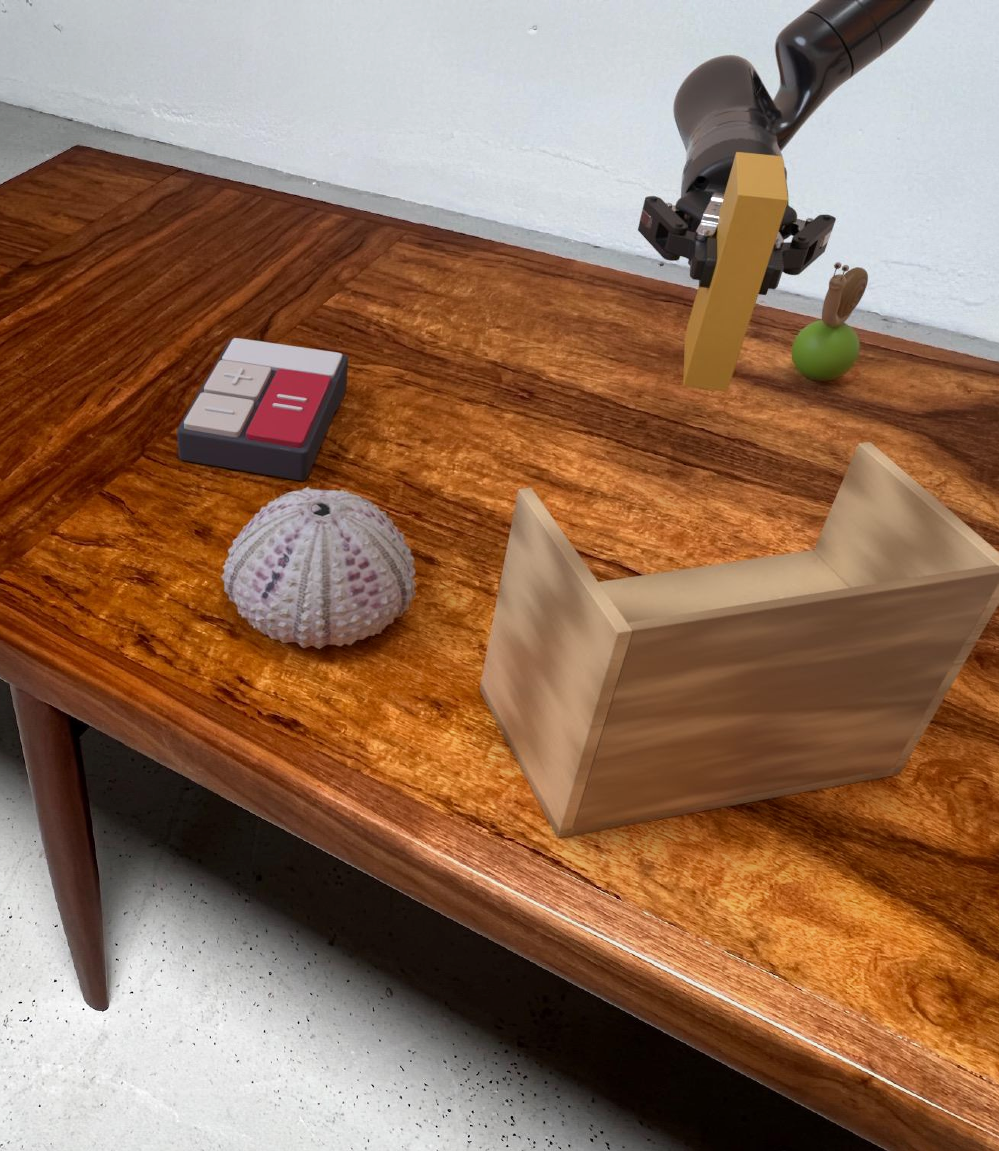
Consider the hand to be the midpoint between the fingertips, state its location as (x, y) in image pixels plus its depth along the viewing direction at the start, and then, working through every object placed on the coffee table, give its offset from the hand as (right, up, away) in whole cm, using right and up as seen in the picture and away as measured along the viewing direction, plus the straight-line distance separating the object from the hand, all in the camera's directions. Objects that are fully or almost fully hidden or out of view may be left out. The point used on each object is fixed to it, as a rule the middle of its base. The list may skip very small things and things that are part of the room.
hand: (735, 277), depth 76 cm
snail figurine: (+19, -2, +27) cm, 33 cm away
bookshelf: (-6, -30, -6) cm, 31 cm away
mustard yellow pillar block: (+1, -4, +7) cm, 8 cm away
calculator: (-31, -7, +21) cm, 38 cm away
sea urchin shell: (-28, -22, +4) cm, 36 cm away
